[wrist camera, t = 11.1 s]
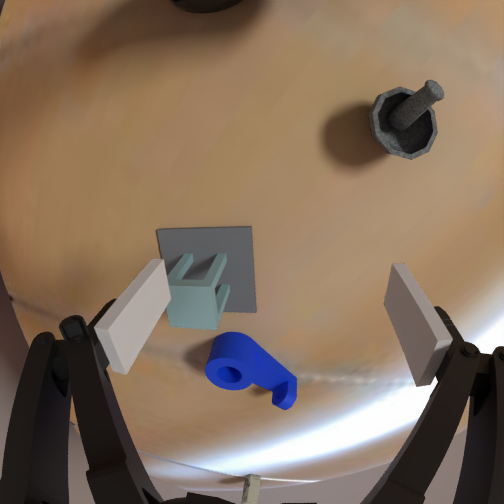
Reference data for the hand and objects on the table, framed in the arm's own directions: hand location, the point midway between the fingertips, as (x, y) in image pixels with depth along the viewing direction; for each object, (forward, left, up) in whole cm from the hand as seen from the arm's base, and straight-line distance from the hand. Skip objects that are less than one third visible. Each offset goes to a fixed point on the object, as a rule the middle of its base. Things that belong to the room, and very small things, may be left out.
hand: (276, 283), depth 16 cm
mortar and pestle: (-11, +17, -30) cm, 36 cm away
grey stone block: (+103, -10, -30) cm, 108 cm away
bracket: (+36, -6, -30) cm, 47 cm away
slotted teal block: (+14, -13, -29) cm, 35 cm away
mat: (+14, -13, -29) cm, 35 cm away
